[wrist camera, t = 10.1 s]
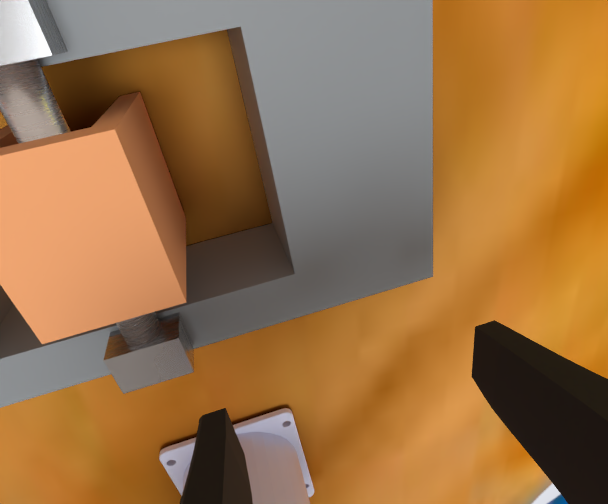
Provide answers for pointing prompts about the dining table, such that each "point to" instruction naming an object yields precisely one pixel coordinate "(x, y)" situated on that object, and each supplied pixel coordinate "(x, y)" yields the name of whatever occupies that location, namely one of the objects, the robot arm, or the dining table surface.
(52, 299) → the open-top orange sleeve
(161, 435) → the dining table surface
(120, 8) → the thick gray rectangular frame
